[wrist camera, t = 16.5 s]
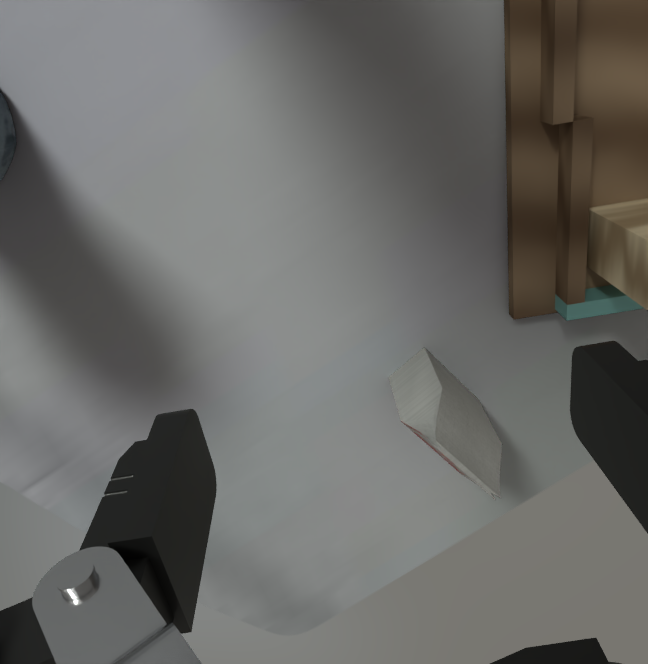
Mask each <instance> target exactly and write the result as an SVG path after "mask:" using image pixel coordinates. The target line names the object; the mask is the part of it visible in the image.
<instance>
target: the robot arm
mask: <svg viewBox="0 0 648 664" xmlns="http://www.w3.org/2000/svg"><path fill="white" fill-rule="evenodd" d="M570 414H571V420H572V424H573V427H574V430H575V432H576V435H577V436H578V438H579V440H580V441H581V442H582V444H583V445H584V447H585V448H586V449H587V451H588V452H589V453H590V455H591V456H592V458H593V459H594V460H595V462H596V463H597V464H598V466H599V467H600V468H601V470H602V471H603V473H604V474H605V475H606V477H607V478H608V480H609V481H610V482H611V484H612V485H613V486H614V488H615V489H616V491H617V492H618V493H619V495H620V496H621V497H622V498H623V500H624V501H625V503H626V504H627V506H628V507H629V508H630V509H631V511H632V512H633V514H634V515H635V517H636V518H637V519H638V520H639V522H640V523H641V524H642V526H643V528H644V529H645V530H646V532H647V533H648V361H647V360H643V361H637V360H636V359H635V358H634V357H633V356H632V355H631V354H630V353H629V352H628V351H626V350H625V349H624V348H623V347H622V346H621V345H620V344H619V343H617V342H615V341H609V342H603V343H597V344H591V345H585V346H579V347H576V348H575V349H574V351H573V355H572V372H571V400H570ZM104 494H105V497H102V500H101V502H100V504H99V506H98V509H97V511H96V513H95V516H94V518H93V520H92V523H91V525H90V527H89V530H88V532H87V534H86V537H85V539H84V541H83V543H82V546H81V548H80V550H79V551H77V552H75V553H73V554H71V555H69V556H67V557H65V558H64V559H62V560H61V561H59V562H58V563H57V564H56V565H54V566H53V567H52V568H51V569H50V570H49V571H48V572H47V573H46V574H45V575H44V577H43V578H42V579H41V580H40V582H39V584H38V585H37V587H36V589H35V591H34V594H33V597H32V598H30V599H28V600H26V601H23V602H21V603H18V604H16V605H14V606H11V607H9V608H6V609H4V610H2V611H0V664H202V663H201V662H200V660H199V659H198V658H197V656H196V655H195V653H194V652H193V650H192V649H191V648H190V646H189V645H188V643H187V642H186V640H185V639H184V637H183V636H182V635H181V633H188V632H191V631H192V624H193V619H194V614H195V608H196V603H197V597H198V592H199V586H200V581H201V575H202V570H203V564H204V559H205V553H206V547H207V542H208V536H209V531H210V525H211V520H212V514H213V509H214V503H215V498H216V475H215V469H214V465H213V462H212V459H211V456H210V453H209V450H208V446H207V443H206V440H205V437H204V434H203V431H202V428H201V424H200V421H199V418H198V416H197V413H196V412H195V410H193V409H188V410H182V411H176V412H170V413H164V414H158V415H157V416H156V418H155V420H154V423H153V425H152V428H151V431H150V433H149V436H148V439H147V440H143V441H137V442H135V443H134V444H133V445H132V446H131V447H130V448H129V449H128V450H127V451H126V452H125V453H124V455H123V456H122V457H121V458H120V459H119V460H118V463H117V465H116V467H115V470H114V472H113V474H112V477H111V481H109V483H108V486H107V488H106V490H105V493H104ZM491 664H620V663H615V662H608V660H607V658H606V656H605V654H604V652H603V650H602V648H601V647H600V644H599V642H598V640H597V639H596V638H591V639H584V640H577V641H570V642H563V643H556V644H550V645H542V646H536V647H529V648H524V649H522V650H520V651H518V652H516V653H514V654H511V655H509V656H506V657H505V658H502V659H500V660H497V661H495V662H493V663H491Z"/></svg>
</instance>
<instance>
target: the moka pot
mask: <svg viewBox="0 0 648 664" xmlns="http://www.w3.org/2000/svg"><path fill="white" fill-rule="evenodd" d="M15 147H16V134H15V129H14V125H13V121H12V116H11V113H10V110H9V108H8V105H7V102H6V100H5V99H4V97H3V95H2V94H1V92H0V180H2V179H3V177H4V175H5V173H6V171H7V169H8V168H9V166H10V163H11V161H12V158H13V155H14V151H15Z"/></svg>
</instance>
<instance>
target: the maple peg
mask: <svg viewBox="0 0 648 664" xmlns="http://www.w3.org/2000/svg"><path fill="white" fill-rule="evenodd" d="M587 267H589V268H590V269H591V270H593V271H594V272H595V273H597V274H598V275H600V276H601V277H602V278H604V279H605V280H606V281H608V282H609V283H610V284H612V285H613V286H615V287H616V288H617V289H619V290H620V291H621V292H623V293H624V294H626V295H627V296H628V297H630V298H631V299H632V300H634V301H635V302H637V303H638V304H639V305H641V306H642V307H643V308H645V309H646V310H647V311H648V199H647V198H646V199H640V200H634V201H628V202H621V203H615V204H609V205H603V206H597V207H591V208H589V226H588V246H587Z"/></svg>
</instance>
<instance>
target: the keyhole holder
mask: <svg viewBox="0 0 648 664" xmlns="http://www.w3.org/2000/svg"><path fill="white" fill-rule="evenodd" d="M504 24H505V87H506V149H507V211H508V273H509V314H510V316H511V317H512V318H513V319H520V318H526V317H532V316H538V315H545V314H551V313H557V312H558V313H559V314H560V315H561V316H562V317H563V318H564V319H565V320H566V321H568V320H574V319H580V318H587V317H593V316H599V315H605V314H612V313H618V312H624V311H630V310H636V309H643V307H642V306H641V305H639V304H638V303H637V302H635V301H634V300H632V299H631V298H630V297H628V296H627V295H626V294H624V293H623V292H621V291H620V290H619V289H617V288H616V287H615V286H613V285H612V284H610V283H609V282H608V281H606V280H605V279H604V278H602V277H601V276H600V275H598V274H597V273H595V272H594V271H593V270H591V269H590V268H589V267H587V246H588V226H589V208H591V207H597V206H603V205H609V204H615V203H621V202H628V201H634V200H640V199H646V198H647V199H648V0H504Z"/></svg>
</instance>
